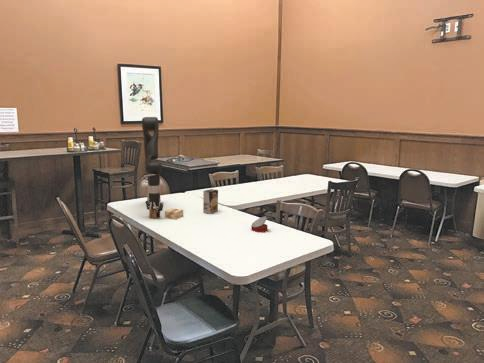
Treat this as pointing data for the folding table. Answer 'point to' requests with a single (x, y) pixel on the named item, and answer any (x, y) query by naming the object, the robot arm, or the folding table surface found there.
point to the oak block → (174, 214)
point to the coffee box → (210, 201)
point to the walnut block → (153, 213)
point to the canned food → (259, 225)
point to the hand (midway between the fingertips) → (154, 216)
